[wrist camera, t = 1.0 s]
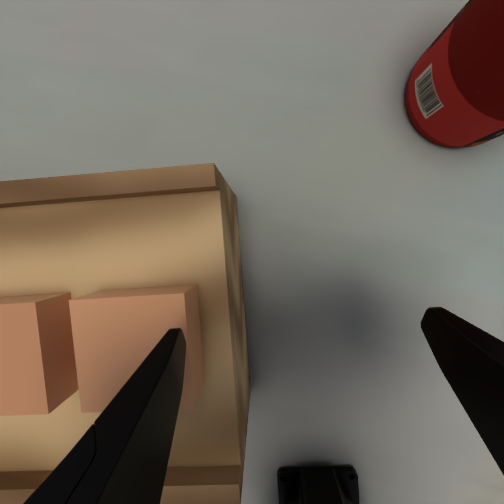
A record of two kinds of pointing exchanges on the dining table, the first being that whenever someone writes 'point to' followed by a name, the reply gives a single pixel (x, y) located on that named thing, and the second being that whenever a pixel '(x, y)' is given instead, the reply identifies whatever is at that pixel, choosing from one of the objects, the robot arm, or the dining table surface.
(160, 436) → the robot arm
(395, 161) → the dining table surface
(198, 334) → the tile
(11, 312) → the tile
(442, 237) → the dining table surface
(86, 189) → the tan wooden box
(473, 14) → the canned food
